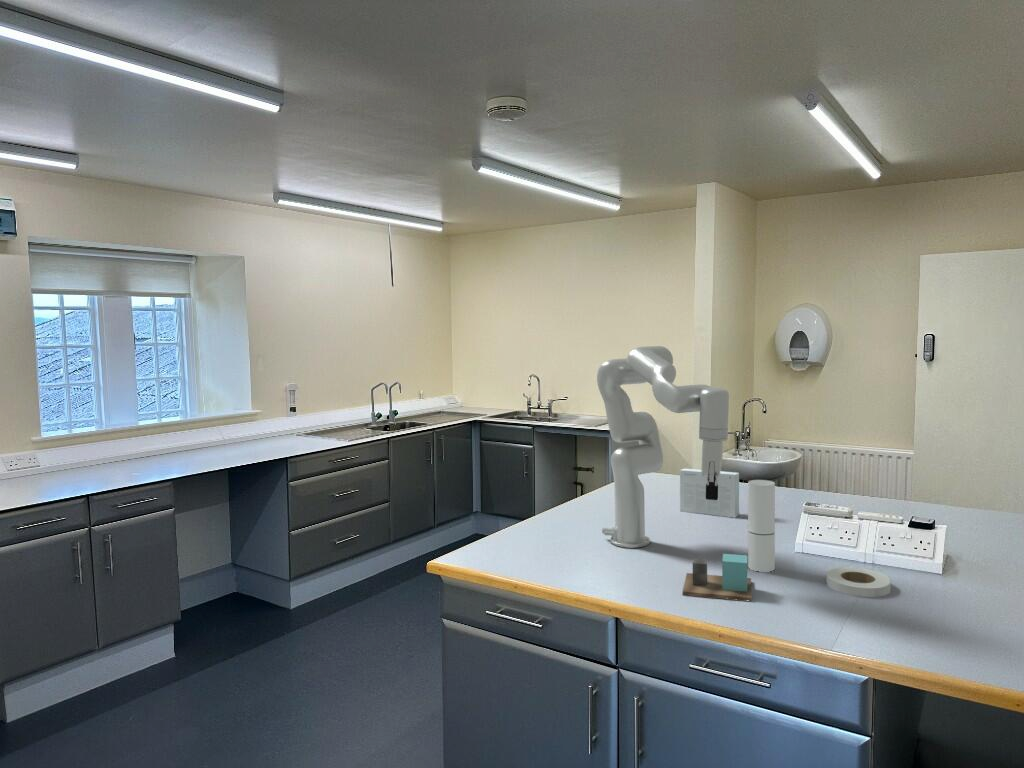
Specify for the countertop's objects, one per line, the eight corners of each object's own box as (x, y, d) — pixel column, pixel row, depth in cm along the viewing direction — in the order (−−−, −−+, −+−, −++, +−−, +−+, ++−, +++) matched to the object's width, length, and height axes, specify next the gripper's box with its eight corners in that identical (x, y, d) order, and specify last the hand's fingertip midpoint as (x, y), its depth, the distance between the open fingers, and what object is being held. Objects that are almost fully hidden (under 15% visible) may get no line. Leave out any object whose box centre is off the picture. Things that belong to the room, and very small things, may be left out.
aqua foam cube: (722, 589, 182) (722, 561, 182) (723, 581, 188) (723, 553, 188) (747, 591, 180) (747, 563, 180) (747, 583, 186) (747, 555, 186)
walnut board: (682, 595, 182) (682, 569, 181) (686, 576, 195) (686, 552, 195) (751, 601, 177) (751, 574, 176) (750, 581, 190) (750, 556, 189)
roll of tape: (888, 602, 175) (888, 591, 174) (822, 591, 183) (822, 581, 182) (892, 582, 188) (892, 572, 187) (830, 573, 196) (830, 563, 195)
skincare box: (739, 514, 256) (739, 472, 255) (735, 518, 252) (735, 475, 250) (684, 508, 267) (683, 467, 266) (679, 511, 263) (678, 470, 262)
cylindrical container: (774, 565, 202) (774, 480, 200) (774, 573, 196) (775, 486, 194) (748, 562, 205) (748, 479, 203) (748, 571, 198) (748, 484, 196)
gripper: (700, 428, 198) (699, 490, 200) (697, 438, 184) (695, 505, 186) (728, 429, 196) (726, 493, 198) (727, 439, 182) (725, 507, 184)
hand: (711, 498), depth 192 cm, fingers closed
